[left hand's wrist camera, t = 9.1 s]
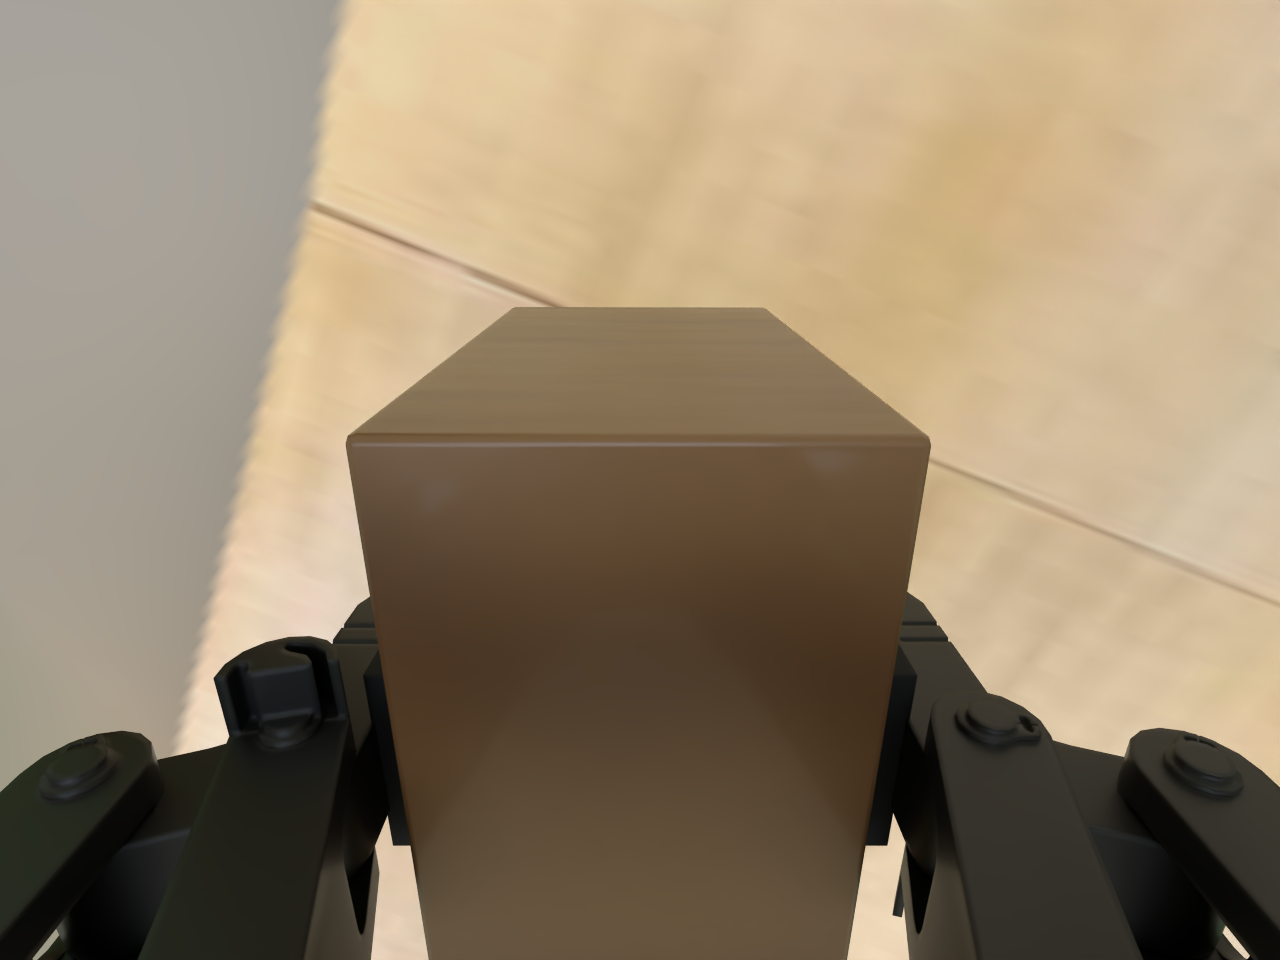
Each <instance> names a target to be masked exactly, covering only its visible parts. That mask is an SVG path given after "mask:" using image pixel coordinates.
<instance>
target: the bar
mask: <svg viewBox="0 0 1280 960" xmlns="http://www.w3.org/2000/svg"><path fill="white" fill-rule="evenodd" d="M930 449H931V443H930V439H929V437H928V436H927V435H926V434H925V433H923V432H922V431H921V430H920V429H918V428H917V427H916V426H914V425H913V424H912V423H911V422H909V421H908V420H907V419H905V418H904V417H903V416H902V415H900V414H899V413H898V412H897V411H895V410H894V409H893V408H891V407H890V406H889V405H888V404H886V403H885V402H884V401H883V400H881V399H880V398H879V397H877V396H876V395H875V394H874V393H872V392H871V391H870V390H868V389H867V388H866V387H865V386H863V385H862V384H861V383H860V382H858V381H857V380H856V379H854V378H853V377H852V376H851V375H849V374H848V373H847V372H845V371H844V370H843V369H842V368H840V367H839V366H838V365H837V364H835V363H834V362H833V361H831V360H830V359H829V358H828V357H826V356H825V355H824V354H823V353H821V352H820V351H819V350H817V349H816V348H815V347H814V346H812V345H811V344H810V343H808V342H807V341H806V340H805V339H803V338H802V337H801V336H800V335H798V334H797V333H796V332H794V331H793V330H792V329H791V328H789V327H788V326H787V325H786V324H784V323H783V322H782V321H780V320H779V319H778V318H777V317H775V316H774V315H773V314H771V313H770V312H769V311H768V310H766V309H764V308H595V307H515V308H513V309H511V310H510V311H509V312H507V313H506V314H505V315H503V316H502V317H501V318H500V319H498V320H497V321H496V322H494V323H493V324H492V325H491V326H489V327H488V328H487V329H485V330H484V331H483V332H481V333H480V334H479V335H478V336H476V337H475V338H474V339H472V340H471V341H470V342H469V343H467V344H466V345H465V346H463V347H462V348H461V349H460V350H458V351H457V352H456V353H454V354H453V355H452V356H450V357H449V358H448V359H447V360H445V361H444V362H443V363H441V364H440V365H439V366H438V367H436V368H435V369H434V370H432V371H431V372H430V373H428V374H427V375H426V376H425V377H423V378H422V379H421V380H419V381H418V382H417V383H416V384H414V385H413V386H412V387H410V388H409V389H408V390H407V391H405V392H404V393H403V394H401V395H400V396H399V397H397V398H396V399H395V400H394V401H392V402H391V403H390V404H388V405H387V406H386V407H385V408H383V409H382V410H381V411H379V412H378V413H377V414H376V415H374V416H373V417H372V418H370V419H369V420H368V421H366V422H365V423H364V424H363V425H361V426H360V427H359V428H357V429H356V430H355V431H354V432H352V433H351V434H350V435H348V437H347V441H346V450H347V456H348V462H349V468H350V474H351V481H352V487H353V493H354V499H355V505H356V512H357V518H358V524H359V530H360V536H361V543H362V549H363V555H364V561H365V567H366V573H367V580H368V586H369V592H370V598H371V604H372V611H373V617H374V623H375V629H376V635H377V642H378V648H379V654H380V660H381V666H382V672H383V679H384V685H385V691H386V697H387V703H388V710H389V716H390V722H391V728H392V734H393V741H394V747H395V753H396V759H397V765H398V771H399V778H400V784H401V790H402V796H403V802H404V809H405V815H406V821H407V827H408V833H409V840H410V846H411V852H412V858H413V864H414V870H415V877H416V883H417V889H418V895H419V901H420V908H421V914H422V920H423V926H424V932H425V939H426V945H427V951H428V957H429V960H847V956H848V949H849V943H850V937H851V931H852V925H853V919H854V913H855V907H856V901H857V894H858V888H859V882H860V876H861V870H862V864H863V858H864V852H865V846H866V839H867V833H868V827H869V821H870V815H871V809H872V803H873V797H874V791H875V785H876V778H877V772H878V766H879V760H880V754H881V748H882V742H883V736H884V730H885V723H886V717H887V711H888V705H889V699H890V693H891V687H892V681H893V675H894V668H895V662H896V656H897V650H898V644H899V638H900V632H901V626H902V620H903V614H904V607H905V601H906V595H907V589H908V583H909V577H910V571H911V565H912V559H913V552H914V546H915V540H916V534H917V528H918V522H919V516H920V510H921V504H922V497H923V491H924V485H925V479H926V473H927V467H928V461H929V455H930Z"/></svg>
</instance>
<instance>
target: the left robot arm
mask: <svg viewBox="0 0 1280 960" xmlns="http://www.w3.org/2000/svg"><path fill="white" fill-rule="evenodd" d="M936 623H937V622H936V620H935V619H934V618H933V616H932V615H931V613H930V612H929V611H928V609H927V608H926V606H925V605H924V604H923V602H921V601H920V600H918V599H917V598H915V597H914V596H912V595H911V594H909V593H908V592H907V595H906V601H905V607H904V614H903V620H902V626H901V632H900V638H899V644H898V650H897V656H896V662H895V668H894V675H893V681H892V687H891V693H890V699H889V705H888V711H887V717H886V723H885V730H884V736H883V742H882V748H881V754H880V760H879V766H878V772H877V778H876V785H875V791H874V797H873V803H872V809H871V815H870V821H869V827H868V833H867V839H866V846H887V844H888V839H889V833H890V828H891V822H892V816H893V813H894V816H895V818H896V820H897V823H898V825H899V828H900V830H901V832H902V835H903V837H904V840H905V842H906V844H905V849H904V855H903V860H902V865H901V870H900V876H899V881H898V886H897V891H896V897H895V902H894V909H893V915H894V916H898V917H902V913H903V908H904V910H905V920H906V930H907V940H908V950H909V960H1280V787H1279V786H1278V785H1277V784H1276V783H1274V782H1273V781H1272V780H1271V779H1270V778H1269V777H1268V776H1267V775H1266V774H1265V773H1264V772H1263V771H1261V770H1260V769H1259V768H1257V767H1256V766H1255V765H1253V764H1252V763H1251V762H1249V761H1248V760H1247V759H1245V758H1244V757H1243V756H1241V755H1240V754H1238V753H1236V752H1234V751H1232V750H1230V749H1228V748H1226V747H1224V746H1222V745H1221V744H1219V743H1217V742H1215V741H1213V740H1210V739H1208V738H1205V737H1202V736H1198V735H1196V734H1192V733H1188V732H1185V731H1179V730H1172V729H1164V728H1155V729H1149V730H1142V731H1140V732H1139V733H1137V734H1136V735H1135V736H1134V737H1132V738H1131V739H1130V742H1129V745H1128V748H1127V751H1126V754H1125V757H1121V756H1117V755H1112V754H1107V753H1103V752H1098V751H1094V750H1089V749H1084V748H1080V747H1075V746H1071V745H1067V744H1064V743H1060V742H1057V741H1053V740H1052V737H1051V735H1050V734H1049V732H1048V731H1047V729H1046V728H1045V726H1044V725H1043V724H1042V722H1041V721H1040V720H1039V719H1038V718H1037V717H1035V716H1034V715H1033V714H1031V713H1030V712H1029V711H1028V710H1026V709H1025V708H1024V707H1022V706H1020V705H1018V704H1016V703H1014V702H1012V701H1010V700H1008V699H1005V698H1003V697H1001V696H997V695H993V694H989V693H987V691H986V690H985V689H984V687H983V686H982V684H981V683H980V682H979V680H978V679H977V678H976V676H975V675H974V673H973V672H972V671H971V669H970V668H969V666H968V665H967V664H966V662H965V661H964V659H963V658H962V657H961V655H960V654H959V652H958V651H957V650H956V648H955V647H954V645H953V644H952V643H951V642H948V637H947V636H946V634H945V633H944V631H943V630H942V629H941V627H940V626H937V624H936ZM214 682H215V685H216V689H217V693H218V696H219V700H220V704H221V707H222V711H223V715H224V718H225V722H226V726H227V729H228V733H229V738H228V741H227V743H226V744H223V745H220V746H216V747H213V748H209V749H205V750H200V751H196V752H191V753H186V754H182V755H177V756H173V757H168V758H164V759H159V760H157V758H156V755H155V752H154V749H153V746H152V743H151V741H149V740H148V739H147V738H146V737H144V736H143V735H142V734H140V733H134V732H127V731H117V732H110V733H102V734H96V735H93V736H89V737H86V738H84V739H79V740H77V741H74V742H71V743H69V744H67V745H65V746H63V747H61V748H59V749H57V750H55V751H53V752H51V753H49V754H47V755H45V756H43V757H42V758H41V759H39V760H38V761H37V762H35V763H34V764H33V765H31V766H30V767H29V768H27V769H26V770H25V771H23V772H22V773H21V774H19V775H18V776H17V777H16V778H15V779H14V780H13V781H12V782H11V783H10V784H9V785H8V786H7V787H5V788H4V789H3V790H2V791H1V792H0V960H33V959H32V958H33V957H34V956H35V955H36V953H37V952H38V951H39V950H40V948H41V947H42V946H43V944H44V943H45V942H46V941H47V939H48V938H49V937H50V936H51V934H52V933H53V932H54V931H55V929H57V931H58V933H59V936H58V938H57V939H56V940H55V941H54V943H53V944H52V945H51V947H50V948H49V949H48V950H47V951H46V952H45V953H44V954H43V955H42V956H41V957H40V958H39V959H38V960H371V952H372V942H373V932H374V922H375V912H376V902H377V892H378V882H379V867H378V860H377V855H376V849H375V844H376V842H377V839H378V837H379V835H380V832H381V830H382V827H383V825H384V823H385V820H386V818H387V815H388V820H389V825H390V831H391V836H392V842H393V846H410V840H409V833H408V827H407V821H406V815H405V809H404V802H403V796H402V790H401V784H400V778H399V771H398V765H397V759H396V753H395V747H394V741H393V734H392V728H391V722H390V716H389V710H388V703H387V697H386V691H385V685H384V679H383V672H382V666H381V660H380V654H379V648H378V642H377V635H376V629H375V623H374V617H373V611H372V604H371V598H370V597H369V598H367V599H366V600H364V601H363V602H361V603H360V604H359V605H357V607H356V608H355V610H354V611H353V613H352V614H351V615H350V617H349V618H348V620H347V621H346V622H345V624H344V628H341V629H340V631H339V632H338V634H337V635H336V636H335V638H334V639H333V644H331V643H330V642H329V641H327V640H324V639H320V638H316V637H311V636H304V637H287V638H282V639H278V640H274V641H269V642H265V643H263V644H261V645H258V646H256V647H253V648H251V649H249V650H246V651H244V652H242V653H241V654H239V655H238V656H236V657H235V658H233V659H232V660H230V661H229V662H227V663H226V664H225V665H224V666H223V667H222V668H221V670H220V671H219V672H218V673H217V675H216V676H215V677H214ZM1225 926H1227V927H1228V929H1229V930H1230V931H1231V932H1232V934H1233V935H1234V936H1235V937H1236V939H1237V940H1238V941H1239V942H1240V944H1241V945H1242V946H1243V947H1244V949H1245V950H1246V951H1247V952H1248V954H1249V955H1250V957H1249V958H1248V959H1245V958H1244V957H1243V956H1242V955H1241V954H1240V953H1239V952H1238V951H1237V950H1236V949H1235V948H1234V947H1233V946H1232V944H1231V943H1230V942H1229V941H1228V939H1227V938H1226V937H1225V935H1224V934H1223V930H1224V928H1225Z"/></svg>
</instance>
